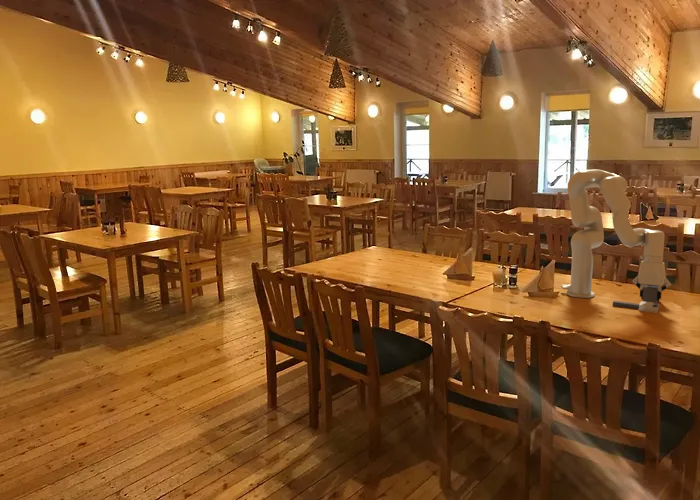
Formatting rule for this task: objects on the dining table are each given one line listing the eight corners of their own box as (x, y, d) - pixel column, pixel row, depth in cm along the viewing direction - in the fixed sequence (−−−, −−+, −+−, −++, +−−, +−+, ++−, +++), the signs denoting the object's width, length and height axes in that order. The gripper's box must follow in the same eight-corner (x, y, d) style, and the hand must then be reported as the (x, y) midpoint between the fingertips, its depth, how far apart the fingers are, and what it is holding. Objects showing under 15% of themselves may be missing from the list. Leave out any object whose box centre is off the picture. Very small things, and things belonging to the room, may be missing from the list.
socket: (642, 301, 257) (643, 287, 256) (643, 298, 262) (644, 285, 261) (656, 302, 254) (657, 289, 253) (657, 299, 259) (658, 286, 258)
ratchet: (611, 306, 264) (612, 292, 263) (614, 303, 270) (615, 289, 269) (657, 313, 254) (658, 298, 253) (658, 308, 260) (660, 294, 259)
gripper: (630, 258, 257) (627, 298, 260) (674, 262, 247) (671, 303, 251) (632, 255, 263) (630, 295, 266) (676, 259, 254) (673, 299, 257)
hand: (650, 298), depth 258 cm, fingers closed on socket, 5 cm apart
